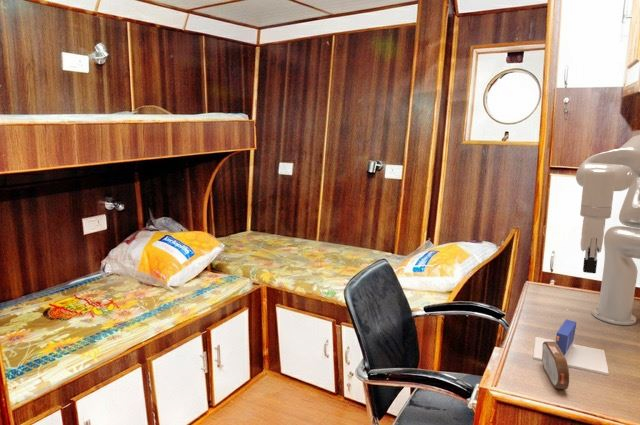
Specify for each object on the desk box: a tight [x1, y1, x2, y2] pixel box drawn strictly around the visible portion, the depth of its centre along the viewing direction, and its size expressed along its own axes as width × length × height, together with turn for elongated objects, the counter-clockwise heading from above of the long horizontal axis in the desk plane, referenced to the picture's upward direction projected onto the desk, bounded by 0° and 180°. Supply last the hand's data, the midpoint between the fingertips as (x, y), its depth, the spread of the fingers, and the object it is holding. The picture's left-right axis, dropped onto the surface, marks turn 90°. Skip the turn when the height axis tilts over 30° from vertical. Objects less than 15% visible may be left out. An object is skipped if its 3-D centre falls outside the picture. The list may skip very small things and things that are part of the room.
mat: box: [532, 336, 610, 376], centre depth 130 cm, size 14×18×1 cm
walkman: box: [555, 319, 577, 358], centre depth 129 cm, size 8×3×12 cm
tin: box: [541, 340, 570, 390], centre depth 117 cm, size 15×3×8 cm, turn 168°
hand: (589, 271), depth 134 cm, fingers closed
